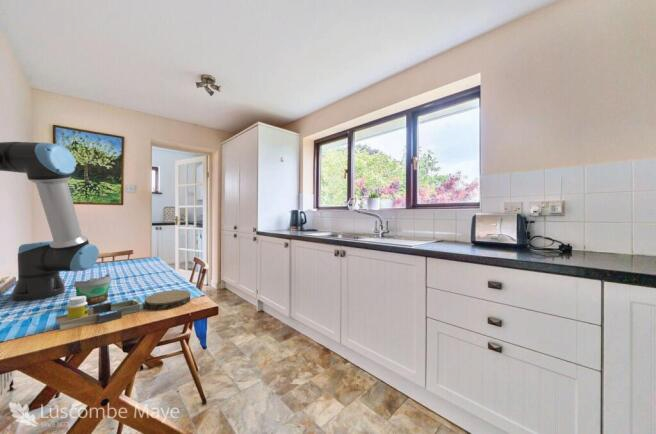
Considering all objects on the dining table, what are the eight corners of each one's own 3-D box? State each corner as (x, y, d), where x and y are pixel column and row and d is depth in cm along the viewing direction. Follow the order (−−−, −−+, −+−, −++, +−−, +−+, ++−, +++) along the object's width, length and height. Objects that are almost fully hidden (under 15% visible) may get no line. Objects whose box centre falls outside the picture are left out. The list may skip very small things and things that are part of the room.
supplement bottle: (88, 322, 83) (88, 297, 83) (67, 327, 80) (67, 301, 80) (87, 318, 87) (87, 294, 86) (67, 322, 83) (67, 297, 83)
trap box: (54, 321, 83) (54, 314, 83) (133, 303, 101) (133, 297, 101) (61, 333, 76) (61, 325, 76) (145, 311, 93) (145, 305, 93)
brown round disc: (146, 314, 92) (146, 306, 92) (143, 301, 104) (143, 294, 104) (194, 304, 102) (194, 297, 102) (186, 294, 114) (186, 287, 114)
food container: (85, 309, 94) (85, 282, 94) (73, 307, 96) (73, 281, 95) (119, 298, 106) (119, 275, 106) (107, 297, 108) (107, 274, 108)
